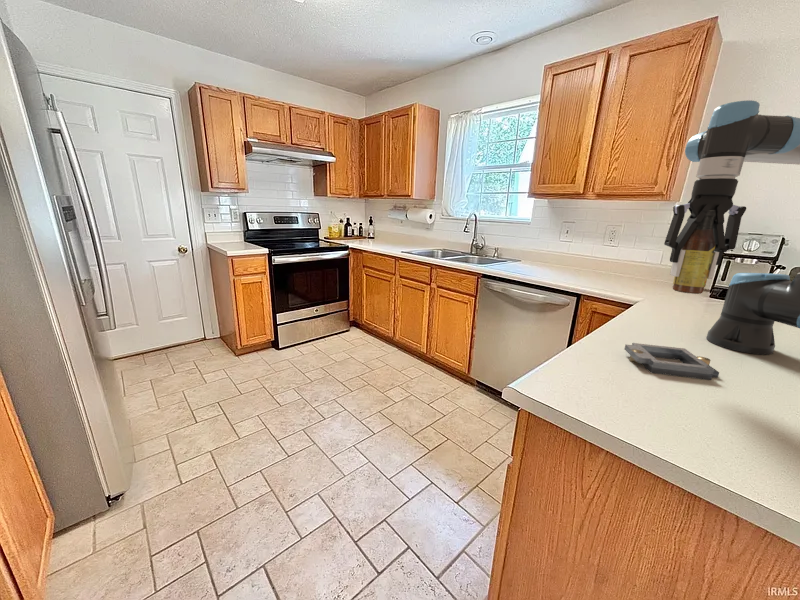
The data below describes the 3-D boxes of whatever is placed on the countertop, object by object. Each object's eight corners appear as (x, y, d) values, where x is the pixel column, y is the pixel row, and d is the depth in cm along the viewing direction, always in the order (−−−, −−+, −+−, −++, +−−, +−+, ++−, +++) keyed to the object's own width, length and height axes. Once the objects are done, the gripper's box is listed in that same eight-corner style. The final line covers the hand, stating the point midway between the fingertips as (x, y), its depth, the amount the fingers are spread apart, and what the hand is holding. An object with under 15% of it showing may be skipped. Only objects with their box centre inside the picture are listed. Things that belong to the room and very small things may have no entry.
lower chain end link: (692, 359, 94) (695, 349, 93) (722, 381, 82) (726, 370, 81) (630, 352, 98) (632, 342, 97) (650, 372, 85) (653, 362, 85)
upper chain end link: (681, 358, 95) (684, 348, 94) (710, 380, 82) (714, 369, 82) (620, 351, 98) (622, 341, 97) (639, 371, 86) (642, 360, 85)
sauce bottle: (709, 295, 81) (733, 210, 76) (679, 293, 82) (702, 209, 77) (692, 289, 87) (713, 210, 82) (665, 287, 88) (684, 209, 83)
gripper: (677, 176, 76) (653, 276, 82) (780, 177, 72) (747, 283, 78) (661, 179, 83) (640, 271, 89) (754, 180, 79) (725, 276, 85)
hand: (690, 276), depth 84 cm, fingers closed on sauce bottle, 6 cm apart
